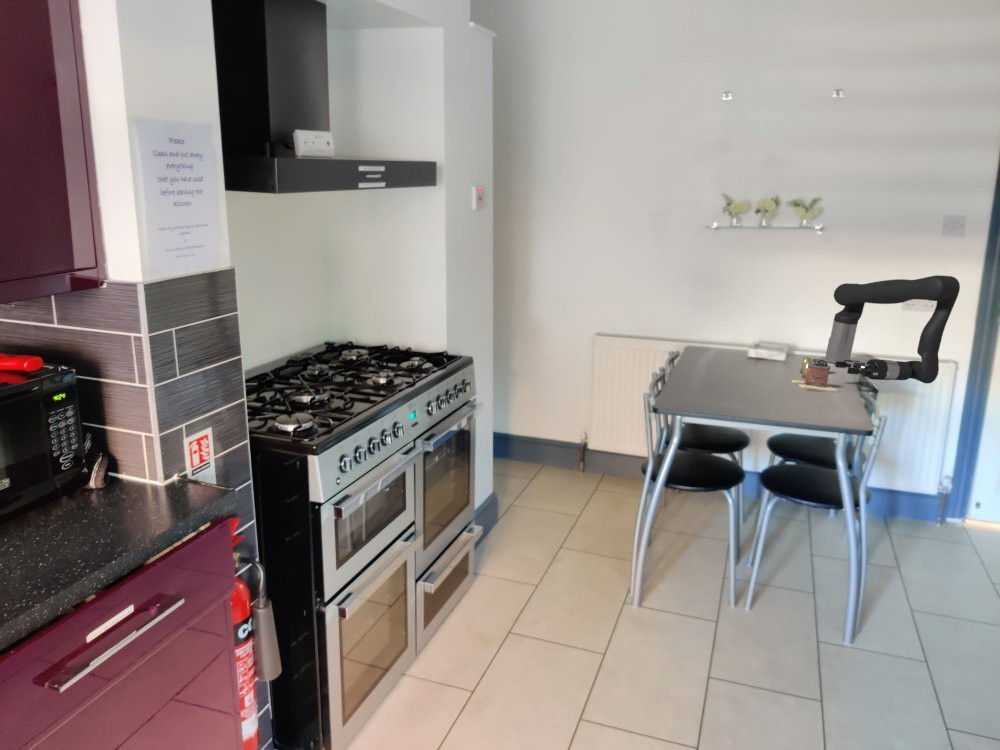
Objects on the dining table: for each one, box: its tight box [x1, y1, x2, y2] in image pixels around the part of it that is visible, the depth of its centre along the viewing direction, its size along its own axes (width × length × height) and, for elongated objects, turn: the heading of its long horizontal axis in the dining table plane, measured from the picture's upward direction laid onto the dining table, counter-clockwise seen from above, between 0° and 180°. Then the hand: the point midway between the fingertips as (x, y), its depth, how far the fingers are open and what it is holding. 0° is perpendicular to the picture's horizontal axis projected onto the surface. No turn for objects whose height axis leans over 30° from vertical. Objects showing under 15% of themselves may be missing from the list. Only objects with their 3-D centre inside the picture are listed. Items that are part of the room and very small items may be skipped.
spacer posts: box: [799, 356, 829, 380], centre depth 316 cm, size 11×14×6 cm
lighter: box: [804, 357, 831, 387], centre depth 298 cm, size 8×3×10 cm, turn 89°
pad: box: [791, 379, 839, 393], centre depth 300 cm, size 12×12×1 cm
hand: (841, 367), depth 299 cm, fingers open, 8 cm apart
